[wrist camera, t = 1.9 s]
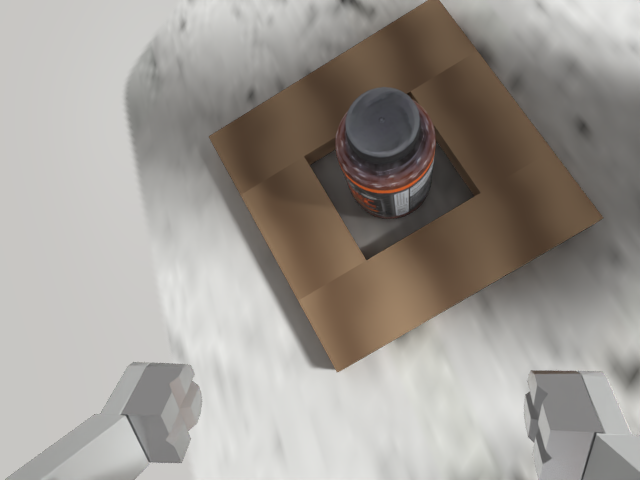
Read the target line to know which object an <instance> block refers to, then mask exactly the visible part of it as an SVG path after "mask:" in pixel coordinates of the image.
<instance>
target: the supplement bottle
mask: <svg viewBox="0 0 640 480" xmlns="http://www.w3.org/2000/svg"><path fill="white" fill-rule="evenodd" d="M335 147H336V155H337V158H338V161H339V164H340V167H341V169H342V171H343V174H344V176H345V178H346V181H347V183H348V186H349V188H350V190H351V193H352V195H353V197H354V199H355V200H356V202H357V203H358V204H359V205H360V207H361V208H363V209H364V210H365V211H367V212H368V213H370V214H372V215H374V216H377V217H380V218H385V219H394V218H399V217H403V216H405V215H407V214H410V213H411V212H413V211H414V210H416V209H417V208H418V207H419V206H420V205H421V204H422V202H423V201H424V200H425V198H426V196H427V194H428V191H429V188H430V184H431V178H432V171H433V163H434V156H435V147H436V135H435V130H434V126H433V123H432V120H431V118H430V116H429V115H428V113H427V112H426V111H425V110H424V109H423V107H422V106H420V105H419V104H418V103H417V102H415V101H414V100H412V99H411V97H409V96H408V95H407V94H405V93H404V92H402V91H400V90H398V89H395V88H389V87H381V88H380V87H379V88H374V89H371V90H368V91H366V92H365V93H363V94H361V95H360V96H359V97H358V98H357V99H356V100H355V101H354V102H353V103H352V105H351V106H350V108H349V110H348V112H347V113H346V114H345V115H344V117H343V118H342V120H341V122H340V124H339V127H338V130H337V133H336V139H335Z"/></svg>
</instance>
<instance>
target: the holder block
mask: <svg viewBox="0 0 640 480" xmlns="http://www.w3.org/2000/svg"><path fill="white" fill-rule="evenodd" d="M379 87H380V88H381V87H389V88H395V89H398V90H400V91H402V92H404V93H405V94H407V95H408V96H409V97H411V99H412V100H414V101H415V102H417V103H418V104H419V105H420V106H422V107H423V109H424V110H425V111H426V112H427V113H428V115H429V116H430V118H431V120H432V123H433V126H434V130H435V135H436V141H437V142H438V144H439V145H440V147H441V148H442V150H443V151H444V153H445V154H446V156H447V157H448V159H449V160H450V161H451V163H452V164H453V166H454V167H455V169H456V170H457V172H458V173H459V175H460V176H461V177H462V179H463V180H464V182H465V183H466V185H467V186H468V188H469V189H470V191H471V192H472V193H473V195H474V196H475V197H473V198H471V199H469V200H468V201H466V202H464V203H463V204H461V205H459V206H458V207H456V208H454V209H453V210H451V211H449V212H447V213H446V214H444V215H442V216H441V217H439V218H437V219H436V220H434V221H432V222H431V223H429V224H427V225H425V226H424V227H422V228H420V229H419V230H417V231H415V232H414V233H412V234H410V235H409V236H407V237H405V238H404V239H402V240H400V241H398V242H397V243H395V244H393V245H392V246H390V247H388V248H387V249H385V250H383V251H382V252H380V253H378V254H376V255H375V256H373V257H371V258H370V259H368V260H366V259H365V257H364V256H363V254H362V252H361V251H360V249H359V247H358V245H357V244H356V242H355V240H354V239H353V237H352V235H351V234H350V232H349V230H348V229H347V227H346V225H345V224H344V222H343V220H342V219H341V217H340V215H339V214H338V212H337V210H336V209H335V207H334V205H333V204H332V202H331V200H330V199H329V197H328V195H327V194H326V192H325V190H324V189H323V187H322V185H321V184H320V182H319V180H318V179H317V177H316V175H315V174H314V172H313V170H312V169H311V167H310V165H311V164H312V163H314V162H316V161H317V160H319V159H321V158H322V157H324V156H326V155H327V154H329V153H331V152H332V151H334V150H335V149H336V147H335V139H336V133H337V130H338V127H339V124H340V122H341V120H342V118H343V117H344V115H345V114H346V113H347V112H348V110H349V108H350V106H351V105H352V103H353V102H354V101H355V100H356V99H357V98H358V97H359V96H360V95H361V94H363V93H365V92H366V91H368V90H371V89H374V88H379ZM209 138H210V140H211V142H212V144H213V146H214V147H215V149H216V151H217V153H218V155H219V157H220V158H221V160H222V162H223V164H224V166H225V168H226V169H227V171H228V173H229V175H230V177H231V179H232V180H233V182H234V184H235V186H236V188H237V190H238V191H239V193H240V195H241V197H242V199H243V201H244V202H245V204H246V206H247V208H248V210H249V212H250V213H251V215H252V217H253V219H254V221H255V223H256V224H257V226H258V228H259V230H260V232H261V234H262V235H263V237H264V239H265V241H266V243H267V245H268V246H269V248H270V250H271V252H272V254H273V256H274V257H275V259H276V261H277V263H278V265H279V267H280V268H281V270H282V272H283V274H284V276H285V278H286V279H287V281H288V283H289V285H290V287H291V289H292V290H293V292H294V294H295V296H296V298H297V300H298V301H299V303H300V305H301V307H302V309H303V311H304V312H305V314H306V316H307V318H308V320H309V322H310V323H311V325H312V327H313V329H314V331H315V333H316V334H317V336H318V338H319V340H320V342H321V344H322V345H323V347H324V349H325V351H326V353H327V355H328V356H329V358H330V360H331V362H332V364H333V366H334V367H335V369H336V371H337V372H339V371H341V370H343V369H345V368H347V367H348V366H350V365H352V364H354V363H355V362H357V361H359V360H360V359H362V358H364V357H366V356H367V355H369V354H371V353H373V352H374V351H376V350H378V349H379V348H381V347H383V346H385V345H386V344H388V343H390V342H392V341H393V340H395V339H397V338H398V337H400V336H402V335H404V334H405V333H407V332H409V331H411V330H412V329H414V328H416V327H417V326H419V325H421V324H423V323H424V322H426V321H428V320H430V319H431V318H433V317H435V316H436V315H438V314H440V313H442V312H443V311H445V310H447V309H449V308H450V307H452V306H454V305H455V304H457V303H459V302H461V301H462V300H464V299H466V298H468V297H469V296H471V295H473V294H474V293H476V292H478V291H480V290H481V289H483V288H485V287H487V286H488V285H490V284H492V283H493V282H495V281H497V280H499V279H500V278H502V277H504V276H506V275H507V274H509V273H511V272H512V271H514V270H516V269H518V268H519V267H521V266H523V265H525V264H526V263H528V262H530V261H531V260H533V259H535V258H537V257H538V256H540V255H542V254H544V253H545V252H547V251H549V250H550V249H552V248H554V247H556V246H557V245H559V244H561V243H563V242H564V241H566V240H568V239H569V238H571V237H573V236H575V235H576V234H578V233H580V232H582V231H583V230H585V229H587V228H588V227H590V226H592V225H594V224H595V223H597V222H598V221H600V220H601V219H603V217H602V215H601V214H600V213H599V211H598V210H597V209H596V207H595V206H594V205H593V203H592V202H591V201H590V199H589V198H588V197H587V195H586V194H585V193H584V191H583V190H582V189H581V188H580V186H579V185H578V184H577V182H576V181H575V180H574V178H573V177H572V176H571V174H570V173H569V172H568V170H567V169H566V168H565V166H564V165H563V164H562V162H561V161H560V160H559V158H558V157H557V156H556V154H555V153H554V152H553V150H552V149H551V148H550V146H549V145H548V144H547V142H546V141H545V140H544V138H543V137H542V136H541V134H540V133H539V132H538V131H537V129H536V128H535V127H534V125H533V124H532V123H531V121H530V120H529V119H528V117H527V116H526V115H525V113H524V112H523V111H522V109H521V108H520V107H519V105H518V104H517V103H516V101H515V100H514V99H513V97H512V96H511V95H510V93H509V92H508V91H507V89H506V88H505V87H504V85H503V84H502V83H501V81H500V80H499V79H498V77H497V76H496V75H495V73H494V72H493V71H492V70H491V68H490V67H489V66H488V64H487V63H486V62H485V60H484V59H483V58H482V56H481V55H480V54H479V52H478V51H477V50H476V48H475V47H474V46H473V44H472V43H471V42H470V40H469V39H468V38H467V36H466V35H465V34H464V32H463V31H462V30H461V28H460V27H459V26H458V24H457V23H456V22H455V20H454V19H453V18H452V16H451V15H450V14H449V13H448V11H447V10H446V9H445V7H444V6H443V5H442V3H441V2H440V1H439V0H428V1H426V2H424V3H423V4H421V5H420V6H418V7H416V8H415V9H413V10H412V11H410V12H408V13H407V14H405V15H404V16H402V17H400V18H399V19H397V20H396V21H394V22H392V23H391V24H389V25H387V26H386V27H384V28H383V29H381V30H379V31H378V32H376V33H375V34H373V35H371V36H370V37H368V38H367V39H365V40H363V41H362V42H360V43H358V44H357V45H355V46H354V47H352V48H350V49H349V50H347V51H346V52H344V53H342V54H341V55H339V56H338V57H336V58H334V59H333V60H331V61H329V62H328V63H326V64H325V65H323V66H321V67H320V68H318V69H317V70H315V71H313V72H312V73H310V74H309V75H307V76H305V77H304V78H302V79H300V80H299V81H297V82H296V83H294V84H292V85H291V86H289V87H288V88H286V89H284V90H283V91H281V92H280V93H278V94H276V95H275V96H273V97H271V98H270V99H268V100H267V101H265V102H263V103H262V104H260V105H259V106H257V107H255V108H254V109H252V110H251V111H249V112H247V113H246V114H244V115H242V116H241V117H239V118H238V119H236V120H234V121H233V122H231V123H230V124H228V125H226V126H225V127H223V128H222V129H220V130H218V131H217V132H215V133H213V134H212V135H210V136H209Z"/></svg>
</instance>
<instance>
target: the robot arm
mask: <svg viewBox="0 0 640 480" xmlns="http://www.w3.org/2000/svg"><path fill="white" fill-rule="evenodd" d="M194 375H195V374H194V371H193V369H192V366H191V365H188V364H170V363H142V362H133V363H132V364H130V365H129V366H128V367H127V369H126V371H125V372H124V374H123V376H122V377H121V379H120V381H119V382H118V384H117V386H116V388H115V389H114V391H113V393H112V394H111V396H110V398H109V400H108V401H107V403H106V405H105V407H104V409H103V410H102V412H101V413H100V414H94V415H93V416H92V417H90V418H89V419H87V420H86V421H85V422H83V423H82V424H80V425H79V426H78V427H76V428H75V429H74V430H72V431H71V432H70V433H68V434H67V435H65V436H64V437H63V438H61V439H60V440H58V441H57V442H56V443H54V444H53V445H51V446H50V447H49V448H47V449H46V450H45V451H43V452H42V453H40V454H39V455H38V456H37V457H35V458H34V459H32V460H31V461H29V462H28V463H27V464H25V465H24V466H23V467H21V468H20V469H18V470H17V471H16V472H14V473H13V474H11V475H10V476H9V477H7V478H6V479H5V480H135V479H136V478H137V476H139V474H140V473H141V472H143V470H144V469H145V468H146V467H147V466H148V465H149V462H158V463H182V461H183V459H184V456H185V453H186V451H187V448H188V446H189V443H190V440H191V438H190V435H189V432H188V431H189V430H190V429H191V428H192V427H193V426H195V425H196V424H197V422H198V419H199V416H200V414H201V407H202V395H201V391H200V388H199V386H198V385H197V384H196V383H194V382H193V381H192V379H193V377H194ZM527 382H528V386H529V390H530V392H529V393H527V394H526V395H525V401H524V419H525V426H526V430H527V435H528V437H529V438H530V439H531V440H532V441H533V442H534V448H533V453H532V456H533V460H534V464H535V468H536V472H537V476H538V480H640V435H632V433H631V430H630V428H629V426H628V424H627V421H626V419H625V417H624V415H623V412H622V410H621V408H620V405H619V403H618V401H617V399H616V396H615V394H614V392H613V390H612V387H611V385H610V383H609V380H608V378H607V376H606V375H605V374H604V373H603V372H601V371H578V372H577V371H532V370H531V371H530V373H529V376H528V381H527Z"/></svg>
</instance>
